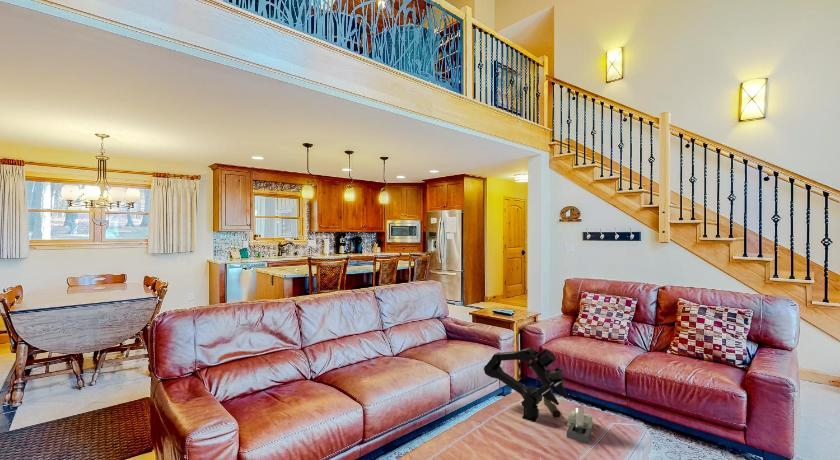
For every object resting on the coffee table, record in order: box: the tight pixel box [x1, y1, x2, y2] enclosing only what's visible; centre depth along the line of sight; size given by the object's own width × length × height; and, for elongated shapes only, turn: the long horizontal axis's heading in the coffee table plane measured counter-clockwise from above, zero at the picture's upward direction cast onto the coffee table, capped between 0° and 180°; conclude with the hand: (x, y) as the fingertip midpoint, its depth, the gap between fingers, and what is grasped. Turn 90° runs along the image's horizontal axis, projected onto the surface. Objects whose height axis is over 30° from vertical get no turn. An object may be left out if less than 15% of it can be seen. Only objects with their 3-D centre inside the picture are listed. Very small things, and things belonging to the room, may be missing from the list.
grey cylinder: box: [574, 405, 585, 434], centre depth 176 cm, size 4×4×13 cm
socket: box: [566, 423, 593, 445], centre depth 176 cm, size 9×9×3 cm
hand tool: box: [542, 396, 561, 418], centre depth 202 cm, size 19×4×5 cm, turn 178°
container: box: [566, 410, 594, 428], centre depth 186 cm, size 10×10×4 cm
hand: (562, 401), depth 181 cm, fingers open, 9 cm apart
